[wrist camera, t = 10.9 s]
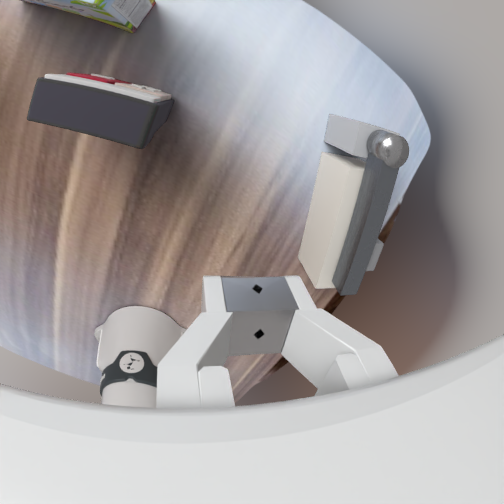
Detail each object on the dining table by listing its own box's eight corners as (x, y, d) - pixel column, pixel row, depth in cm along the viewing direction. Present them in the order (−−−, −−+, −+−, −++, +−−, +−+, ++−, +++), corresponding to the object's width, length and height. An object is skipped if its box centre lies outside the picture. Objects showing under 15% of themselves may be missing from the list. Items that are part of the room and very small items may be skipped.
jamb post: (360, 148, 37) (392, 164, 31) (323, 141, 36) (352, 155, 29) (365, 123, 35) (399, 133, 29) (329, 113, 34) (359, 121, 27)
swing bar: (370, 126, 27) (387, 132, 24) (394, 133, 28) (412, 140, 25) (328, 281, 38) (338, 297, 35) (350, 280, 39) (360, 295, 36)
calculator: (177, 94, 29) (163, 95, 17) (164, 126, 31) (143, 150, 19) (97, 73, 25) (38, 68, 13) (86, 105, 27) (24, 120, 15)
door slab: (330, 257, 47) (360, 300, 37) (297, 257, 45) (323, 302, 36) (358, 158, 38) (403, 183, 29) (321, 151, 37) (363, 175, 28)
